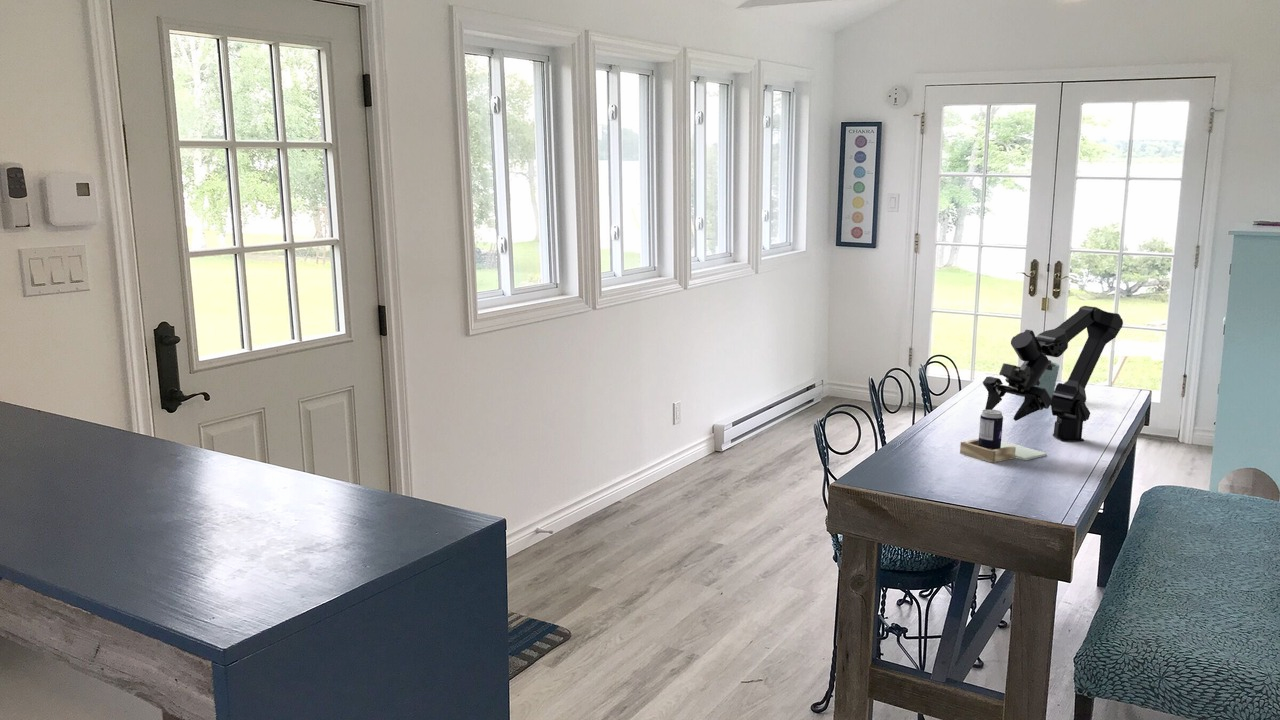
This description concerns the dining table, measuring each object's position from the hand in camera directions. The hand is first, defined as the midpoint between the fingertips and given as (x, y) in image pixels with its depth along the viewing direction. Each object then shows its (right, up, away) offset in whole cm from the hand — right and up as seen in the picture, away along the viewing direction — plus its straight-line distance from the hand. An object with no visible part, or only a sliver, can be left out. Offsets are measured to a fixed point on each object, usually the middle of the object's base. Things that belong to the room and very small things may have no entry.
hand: (1000, 416), depth 262 cm
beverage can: (-3, -11, 0) cm, 11 cm away
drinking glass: (+39, +2, +68) cm, 78 cm away
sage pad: (+5, -10, +5) cm, 12 cm away
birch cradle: (-3, -10, 0) cm, 11 cm away
